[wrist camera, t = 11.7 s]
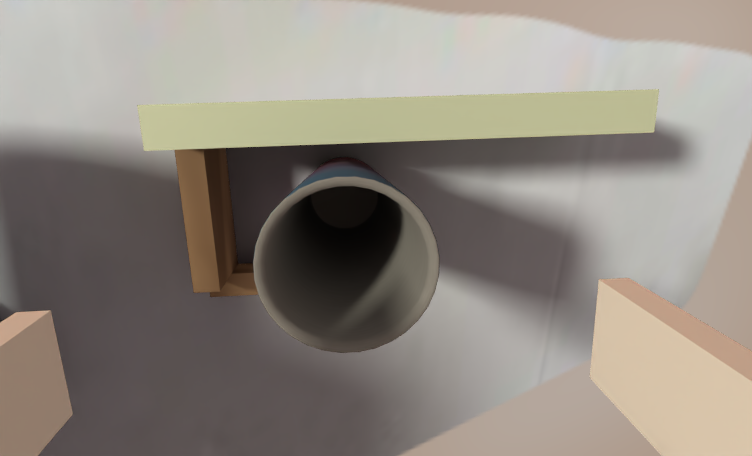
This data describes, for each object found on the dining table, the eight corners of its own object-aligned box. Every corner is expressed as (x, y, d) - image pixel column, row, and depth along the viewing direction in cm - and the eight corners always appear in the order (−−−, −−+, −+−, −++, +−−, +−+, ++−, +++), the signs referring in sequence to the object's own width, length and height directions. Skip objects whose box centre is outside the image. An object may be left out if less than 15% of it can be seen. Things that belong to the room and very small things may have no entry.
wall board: (200, 137, 30) (144, 150, 22) (196, 105, 30) (137, 105, 21) (568, 124, 32) (654, 132, 23) (570, 93, 31) (658, 89, 23)
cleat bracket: (218, 285, 33) (196, 316, 28) (200, 137, 30) (173, 143, 26) (406, 275, 34) (417, 304, 29) (404, 130, 31) (415, 135, 26)
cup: (407, 226, 33) (460, 321, 18) (312, 256, 33) (290, 375, 18) (378, 129, 31) (410, 150, 17) (278, 161, 31) (223, 210, 17)
